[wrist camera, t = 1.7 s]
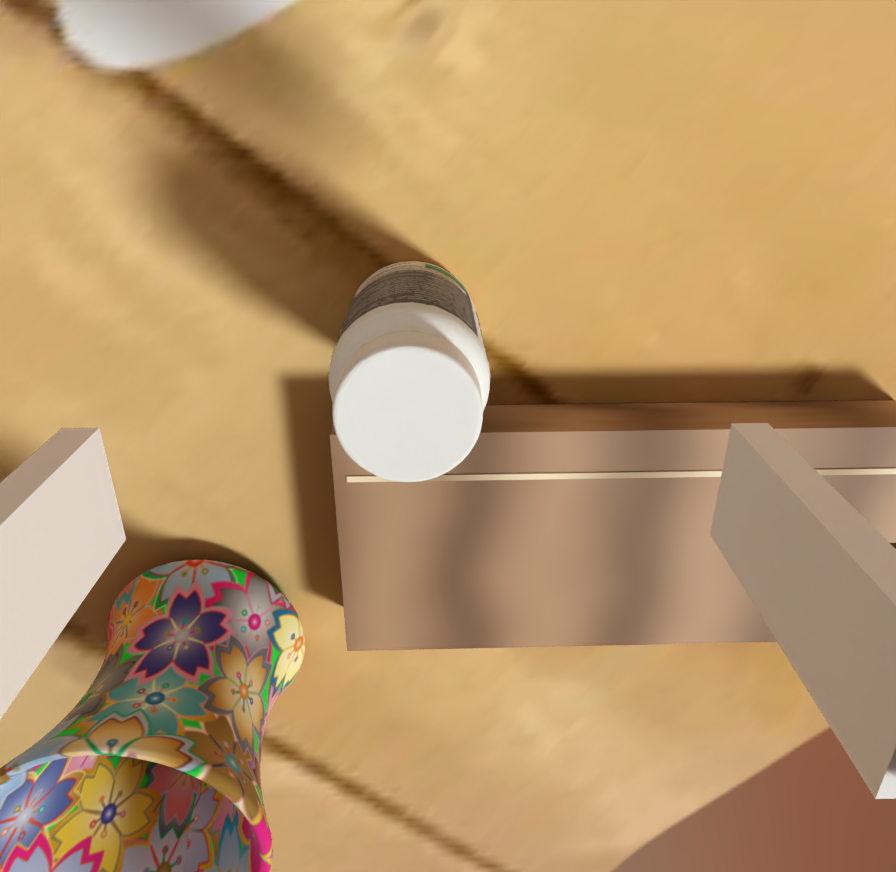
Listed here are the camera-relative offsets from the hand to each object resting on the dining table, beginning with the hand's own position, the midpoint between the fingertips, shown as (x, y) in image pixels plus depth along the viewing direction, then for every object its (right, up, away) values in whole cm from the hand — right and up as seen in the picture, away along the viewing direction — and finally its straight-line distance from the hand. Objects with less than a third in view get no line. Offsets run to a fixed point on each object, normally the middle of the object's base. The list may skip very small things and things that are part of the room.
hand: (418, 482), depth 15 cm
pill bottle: (-1, +5, +11) cm, 12 cm away
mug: (-10, -9, +18) cm, 22 cm away
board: (+7, -2, +15) cm, 17 cm away
